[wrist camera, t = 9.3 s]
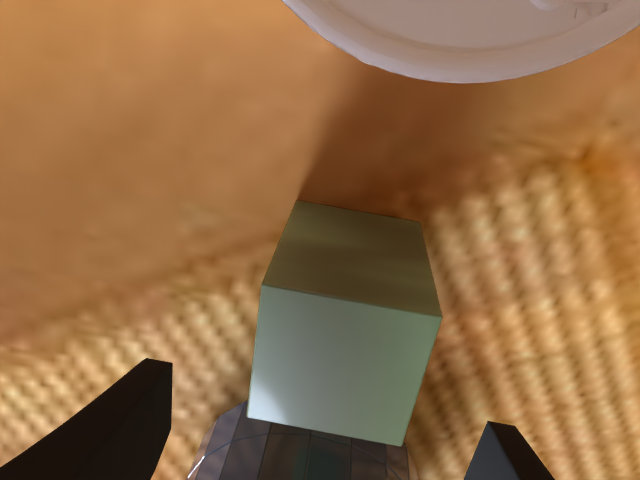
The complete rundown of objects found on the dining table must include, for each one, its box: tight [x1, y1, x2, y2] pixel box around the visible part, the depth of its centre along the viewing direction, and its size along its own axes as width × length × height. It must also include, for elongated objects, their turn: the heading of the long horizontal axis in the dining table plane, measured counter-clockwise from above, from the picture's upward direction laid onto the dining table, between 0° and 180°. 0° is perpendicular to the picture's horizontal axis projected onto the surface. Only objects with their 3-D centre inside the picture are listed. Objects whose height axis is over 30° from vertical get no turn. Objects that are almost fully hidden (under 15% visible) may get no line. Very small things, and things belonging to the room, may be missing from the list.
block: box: [247, 200, 443, 446], centre depth 15 cm, size 4×4×6 cm
